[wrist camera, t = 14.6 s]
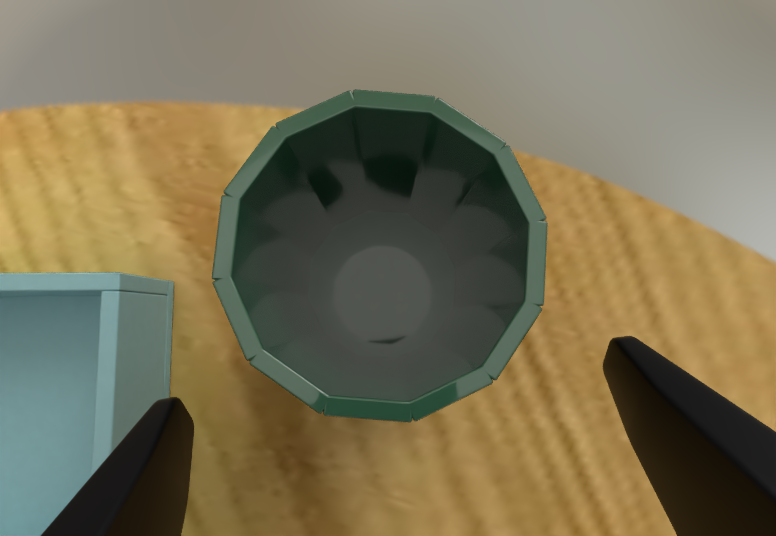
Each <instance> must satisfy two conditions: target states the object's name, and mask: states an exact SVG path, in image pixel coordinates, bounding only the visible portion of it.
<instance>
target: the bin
mask: <svg viewBox="0 0 776 536" xmlns="http://www.w3.org/2000/svg"><path fill="white" fill-rule="evenodd" d="M173 291H174V282H173V281H167V280H162V279H156V278H150V277H144V276H138V275H132V274H126V273H120V272H101V273H0V536H41V534H42V533H43V532H44V531H45V530H46V529H47V527H48V526H49V525H50V524H51V523H52V522H53V520H54V519H55V518H56V517H57V516H58V515H59V513H60V512H61V511H62V510H63V509H64V508H65V506H66V505H67V504H68V503H69V502H70V500H71V499H72V498H73V497H74V496H75V495H76V493H77V492H78V491H79V490H80V489H81V488H82V486H83V485H84V484H85V483H86V482H87V481H88V479H89V478H90V477H91V476H92V475H93V474H94V472H95V471H96V470H97V469H98V468H99V467H100V465H101V464H102V463H103V462H104V461H105V460H106V458H107V457H108V456H109V455H110V454H111V453H112V451H113V450H114V449H115V448H116V447H117V446H118V444H119V443H120V442H121V441H122V440H123V439H124V437H125V436H126V435H127V434H128V433H129V431H130V430H131V429H132V428H133V427H134V426H135V424H136V423H137V422H138V421H139V420H140V419H141V417H142V416H143V415H144V414H145V413H146V412H147V410H148V409H149V408H150V407H151V406H152V405H153V404H154V403H155V402H156V401H157V400H160V399H165V398H169V393H170V367H171V342H172V317H173Z"/></svg>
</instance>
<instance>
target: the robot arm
mask: <svg viewBox="0 0 776 536" xmlns="http://www.w3.org/2000/svg"><path fill="white" fill-rule="evenodd" d="M603 371H604V375H605V378H606V380H607V383H608V385H609V388H610V391H611V393H612V396H613V399H614V401H615V404H616V407H617V409H618V412H619V415H620V417H621V420H622V423H623V425H624V428H625V431H626V433H627V435H628V438H629V440H630V442H631V445H632V447H633V449H634V451H635V453H636V455H637V457H638V459H639V461H640V463H641V465H642V467H643V469H644V471H645V473H646V475H647V477H648V479H649V481H650V483H651V485H652V486H653V488H654V490H655V492H656V494H657V496H658V498H659V500H660V502H661V504H662V506H663V508H664V510H665V512H666V514H667V516H668V518H669V520H670V522H671V524H672V526H673V528H674V530H675V532H676V534H677V536H776V432H775V431H774V430H772V429H771V428H769V427H768V426H766V425H765V424H763V423H762V422H760V421H759V420H757V419H756V418H754V417H753V416H751V415H750V414H748V413H747V412H745V411H744V410H742V409H741V408H739V407H738V406H736V405H735V404H733V403H732V402H730V401H729V400H727V399H726V398H724V397H723V396H721V395H720V394H718V393H717V392H715V391H714V390H713V389H711V388H710V387H708V386H707V385H705V384H704V383H702V382H701V381H699V380H698V379H696V378H695V377H693V376H692V375H690V374H689V373H687V372H686V371H684V370H683V369H681V368H680V367H678V366H677V365H675V364H674V363H672V362H671V361H669V360H668V359H666V358H665V357H663V356H662V355H660V354H659V353H657V352H656V351H654V350H653V349H651V348H650V347H648V346H647V345H645V344H644V343H643V342H641V341H640V340H638V339H636V338H635V337H632V336H624V337H617V338H613V339H612V340H611V341H610V343H609V346H608V349H607V352H606V355H605V358H604V362H603ZM193 437H194V423H193V420H192V417H191V416H190V414H189V413H188V411H187V409H186V408H185V406H184V404H183V403H182V401H181V400H180V399H179V398H177V397H172V398H165V399H160V400H157V401H156V402H155V403H154V404H153V405H152V406H151V407H150V408H149V409H148V410H147V412H146V413H145V414H144V415H143V416H142V417H141V419H140V420H139V421H138V422H137V423H136V424H135V426H134V427H133V428H132V429H131V430H130V431H129V433H128V434H127V435H126V436H125V437H124V439H123V440H122V441H121V442H120V443H119V444H118V446H117V447H116V448H115V449H114V450H113V451H112V453H111V454H110V455H109V456H108V457H107V458H106V460H105V461H104V462H103V463H102V464H101V465H100V467H99V468H98V469H97V470H96V471H95V472H94V474H93V475H92V476H91V477H90V478H89V479H88V481H87V482H86V483H85V484H84V485H83V486H82V488H81V489H80V490H79V491H78V492H77V493H76V495H75V496H74V497H73V498H72V499H71V500H70V502H69V503H68V504H67V505H66V506H65V508H64V509H63V510H62V511H61V512H60V513H59V515H58V516H57V517H56V518H55V519H54V520H53V522H52V523H51V524H50V525H49V526H48V527H47V529H46V530H45V531H44V532H43V533H42V534H41V536H181V533H182V528H183V523H184V518H185V513H186V507H187V500H188V492H189V481H190V470H191V459H192V448H193Z"/></svg>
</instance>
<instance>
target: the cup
mask: <svg viewBox="0 0 776 536" xmlns="http://www.w3.org/2000/svg"><path fill="white" fill-rule="evenodd" d="M505 145H506V142H505V141H504V140H502V139H501V138H499V137H498V136H496V135H495V134H493V133H492V132H490V131H489V130H487V129H486V128H484V127H483V126H481V125H480V124H478V123H477V122H475V121H473V120H472V119H471V118H469V117H468V116H466V115H464V114H463V113H462V112H460V111H458V110H457V109H455V108H454V107H452V106H451V105H449V104H448V103H446V102H445V101H443V100H442V99H440V98H437V99H436V100H435V97H434V96H427V95H416V94H404V93H392V92H380V91H367V90H353V93H352V92H351V91H347V92H344V93H342V94H340V95H338V96H336V97H333V98H331V99H329V100H327V101H325V102H322V103H320V104H318V105H316V106H313V107H311V108H309V109H306V110H304V111H302V112H300V113H297V114H295V115H293V116H291V117H288V118H286V119H284V120H282V121H279V122H277V123H276V127H275V126H272V127H271V128H270V130H269V131H268V132H267V134H266V135H265V136H264V138H263V139H262V140H261V142H260V143H259V144H258V146H257V147H256V148H255V150H254V151H253V152H252V154H251V155H250V156H249V158H248V159H247V160H246V162H245V163H244V164H243V166H242V167H241V168H240V170H239V171H238V173H237V174H236V175H235V177H234V178H233V179H232V181H231V182H230V183H229V185H228V186H227V187H226V189H225V190H224V194H225V195H222V197H221V205H220V213H219V221H218V230H217V238H216V247H215V255H214V263H213V272H212V279H214V280H215V281H213V285H214V288H215V290H216V292H217V295H218V297H219V299H220V301H221V304H222V306H223V308H224V311H225V313H226V315H227V317H228V320H229V322H230V324H231V326H232V329H233V331H234V333H235V336H236V338H237V340H238V342H239V345H240V347H241V349H242V352H243V354H244V356H245V358H246V360H247V361H248V360H250V365H251V366H253V367H254V368H256V369H257V370H258V371H260V372H261V373H263V374H264V375H265V376H267V377H268V378H270V379H271V380H272V381H274V382H275V383H277V384H278V385H279V386H281V387H282V388H284V389H285V390H286V391H288V392H289V393H291V394H292V395H293V396H295V397H296V398H298V399H299V400H300V401H302V402H303V403H305V404H306V405H308V406H309V407H310V408H312V409H313V410H315V411H316V412H317V413H319V414H321V413H322V412H323V414H324V415H325V416H333V417H346V418H358V419H371V420H383V421H396V422H408V423H410V422H411V421H412V418H413V420H414V421H418V420H420V419H422V418H424V417H426V416H428V415H430V414H432V413H434V412H436V411H438V410H440V409H442V408H444V407H446V406H448V405H450V404H452V403H454V402H457V401H459V400H461V399H463V398H465V397H467V396H469V395H471V394H473V393H475V392H477V391H479V390H481V389H483V388H485V387H487V386H489V385H491V384H492V383H493V380H497V379H498V377H499V376H500V374H501V372H502V371H503V369H504V368H505V366H506V365H507V363H508V362H509V360H510V359H511V357H512V356H513V354H514V352H515V351H516V349H517V348H518V346H519V345H520V343H521V342H522V340H523V339H524V337H525V336H526V334H527V333H528V331H529V329H530V328H531V326H532V325H533V323H534V322H535V320H536V319H537V317H538V316H539V314H540V313H541V311H542V308H541V307H540V306H543V305H544V290H545V268H546V246H547V222H546V221H544V220H545V219H546V216H545V214H544V212H543V210H542V208H541V206H540V204H539V202H538V200H537V198H536V196H535V195H534V193H533V191H532V189H531V187H530V185H529V183H528V181H527V179H526V177H525V175H524V173H523V171H522V169H521V167H520V165H519V164H518V162H517V160H516V158H515V156H514V154H513V152H512V150H511V148H510V146H509V145H506V146H505ZM492 379H493V380H492Z"/></svg>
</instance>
